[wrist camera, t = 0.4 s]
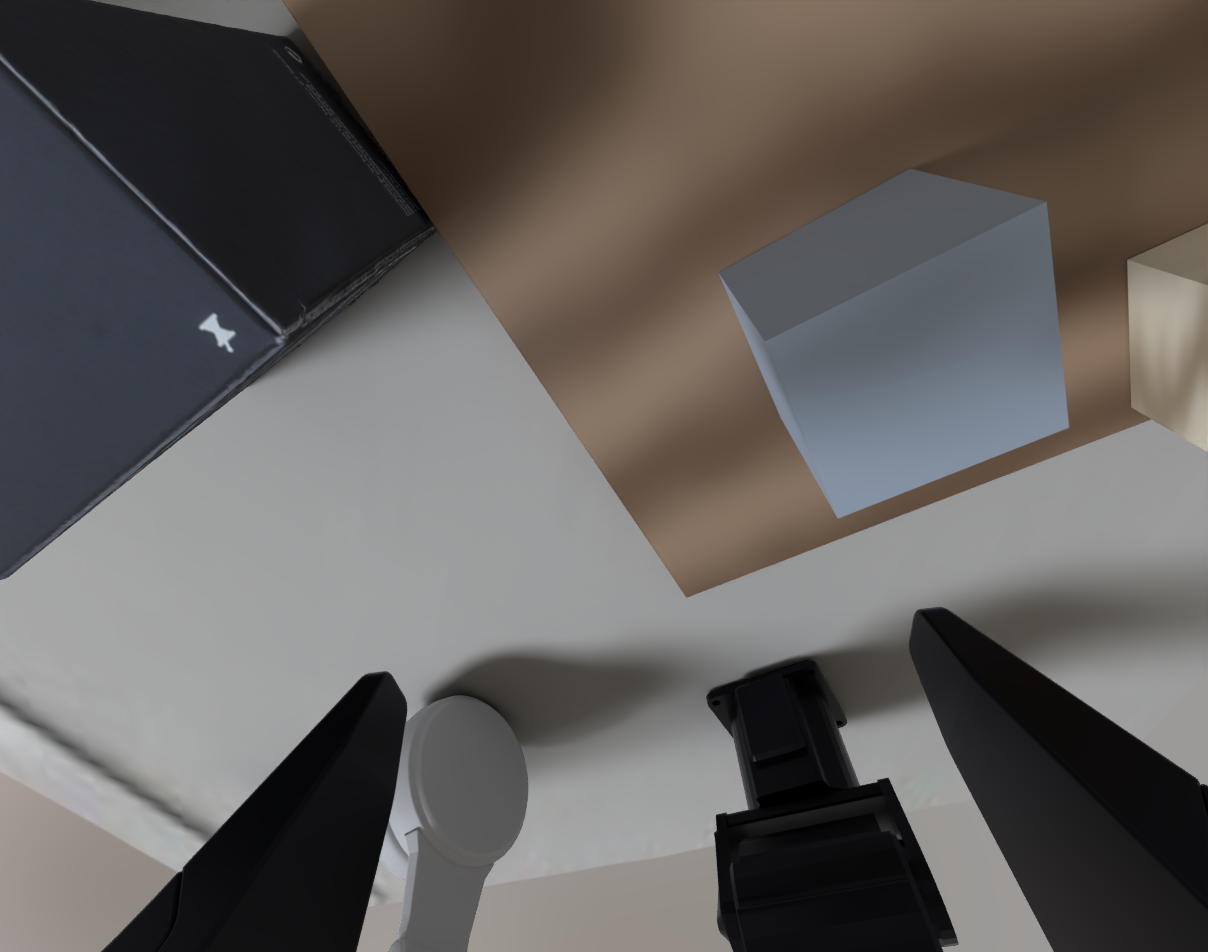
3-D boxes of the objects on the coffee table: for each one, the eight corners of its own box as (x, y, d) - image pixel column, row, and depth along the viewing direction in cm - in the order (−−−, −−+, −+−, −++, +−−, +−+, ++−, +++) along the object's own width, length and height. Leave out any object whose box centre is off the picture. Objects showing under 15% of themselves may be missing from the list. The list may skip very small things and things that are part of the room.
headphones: (341, 828, 41) (180, 1289, 25) (236, 783, 38) (-29, 1291, 22) (541, 729, 35) (495, 1277, 19) (438, 662, 31) (268, 1275, 15)
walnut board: (1303, 334, 21) (1339, 346, 20) (683, 579, 27) (686, 597, 26) (1582, -1442, 7) (1739, -1687, 6) (227, -107, 14) (198, -123, 13)
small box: (278, 13, 15) (-143, -95, 7) (446, 225, 18) (310, 345, 10) (71, 246, 19) (-391, 382, 10) (243, 394, 22) (6, 596, 13)
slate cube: (947, 340, 19) (1069, 427, 14) (780, 416, 21) (837, 518, 16) (908, 168, 16) (1046, 201, 11) (717, 272, 18) (764, 341, 13)
